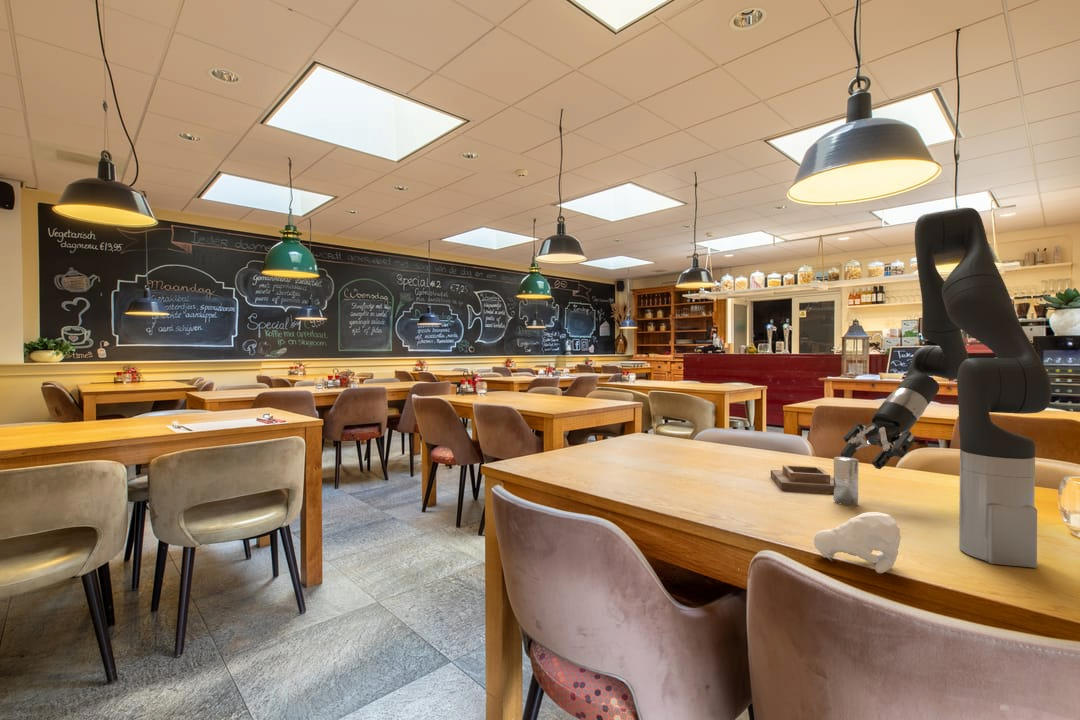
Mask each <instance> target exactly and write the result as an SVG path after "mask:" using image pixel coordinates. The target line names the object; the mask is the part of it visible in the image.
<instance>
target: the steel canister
mask: <svg viewBox="0 0 1080 720" xmlns="http://www.w3.org/2000/svg"><path fill="white" fill-rule="evenodd" d="M833 478H834V494H833V500H834V501H835V502H837V503H836V504H838V503H841V504H846V505H845V506H848V505H856V506H858V505H859V459H858V458H854V457H851V458H849V457H841V456H834V457H833ZM834 501H833V502H834ZM835 502H834V503H835ZM841 504H840V505H841ZM857 504H858V505H857Z"/></svg>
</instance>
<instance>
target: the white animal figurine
mask: <svg viewBox="0 0 1080 720" xmlns="http://www.w3.org/2000/svg"><path fill="white" fill-rule="evenodd" d="M900 532H901V530H900V528H899V526H898V523H897V522H896V520H895V519H894V518H893V517H892V516H891V515H889V514H888V513H882V512H880V511H879V512H878V511H877V512H876V511H868V512H863V513H861V514H860V513H859V515H857V516H853V517H851V518H849V519H848V520H847V521H846V522H843V523H841V524H840V525H839V526H837V527H834V528H832V529H823V530H819V531H817V532H815V534H814V537H813V544H814V547H815V549H816V550H817V551H818V552H819V553H820V554H821V556H822V557H823V559H825V558H826V559H828V560H830V561H833V560H834V559H833V558H834V557H835V554H837V553H844V554H848V555H850V556H855V557H859V559H862V560H864V561H866V562H868V563H870V564H875V572H876V573H877V574H884V573H885V572H887V571H888V570H890V569H891V568H892V567H893V566H894V565H895V562H897V561H896V560H897V557H898V556H899V547H900V543H901V539H902V536H901V533H900ZM873 551H876V552H878V553H876V554H873ZM879 552H880V553H879ZM832 559H833V560H832Z"/></svg>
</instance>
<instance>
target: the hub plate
mask: <svg viewBox="0 0 1080 720" xmlns="http://www.w3.org/2000/svg"><path fill="white" fill-rule="evenodd" d="M770 478H771V479H772V480H774V481H773V482H774V483H775V485H777V487H778V486H779V487H778V488H779V489H780V490H781V491H783V492H784V491H786V492H799V493H812V492H814V493H813V494H827V493H834V476H832V475H831V474H829V473H828V472H827V471H825V470H824V469H822V468H821V466H807V465H806V466H805V465H803V466H802V465H790V464H789V465H788V464H786V465H785V464H782V470H781V469H780V470H779V469H770Z"/></svg>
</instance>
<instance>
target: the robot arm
mask: <svg viewBox="0 0 1080 720" xmlns="http://www.w3.org/2000/svg"><path fill="white" fill-rule="evenodd" d="M984 225H985V224H984V223H983V219H982V217H981V215H980V213H979V211H978V210H977V209H975V208H973V207H960V208H958V207H957V208H953V209H947V210H941V211H935V212H929V213H924V214H922V215H920V216H919V217H918V218H917V220H916V223H915V227H914V248H915V257H916V266H917V273H918V280H919V281H918V283H919V287H920V295H921V296H920V297H921V303H922V305H921V308H922V310H921V311H922V313H921V315H922V318H921V335H922V337H923V338H924V339H925V340H926V341H928V342H930V343H933V344H935V345H937V346H935V345H925V346H921V347H919V348H918V349H916V350H915V352H914V353H913V356H912V357H911V362H910V365H909V367H908V369H907V372H906V374H905V377H904V379H902V381H901V382H900V384H899V385H898V386H897V387H896V389H894V391H892V392H891V393H889V395H888V396H887V397H886V399H885V400H884V401H883V403H882V404H880V406H879V407H878V409H876V411H875V412H874V413H873V415H872V420H871V423H869V424H868V425H863V424H862V423H861V421H858V422H857V423H856V424H855V425H853V427H852V428H851V429H850V430H849V431H848V432H847V433H846V435H844V437H843V441H844V442H845V443H846V446H844V448H843V449H842V450H841V452H840V457H849V458H853V456H854V455H855V453H856V452H857V451H858V450H859V449H860V448H861V449H862V448H863V447H866V448H867V447H869V446H871V445H872V446H879V447H881V448H882V450H880V451H879V452H878V454H877V455H876V456H875V458H874V459H873V460H872V462H871V464H872V466H873V467H874V468H875V469H877V470H881V469H882V468H884V467H885V466H886V465H887V463H888V462H889V461H890V459H894V458H895V457H898V458H904V457H905V455H906V454H907V453H908V451H909V449H911V447H912V446H913V444H914V442H915V441H916V440H917V439H916V437H915V436H914V434H913V433H912V432H911V430H912V428H913V427H914V425H915V424H916V423H917V422H918V421H919V420H920V418H921V417H922V415H923V414H924V412H925V411H926V409H927V407H928V406H929V404H931V402H932V401H933V399H934V398H935V397H936V396H937V394H938V392H939V391H940V384H939V382H938V381H937V380H936V379H935V378H933V377H938V378H942V379H947V380H952V381H953V380H956V393H957V404H958V405H957V407H958V432H959V494H958V495H959V499H958V500H959V508H958V509H959V511H958V512H959V513H958V514H959V515H958V520H959V522H958V526H959V528H958V529H959V530H958V531H959V532H958V535H959V536H958V538H959V539H958V540H959V541H958V544H959V545H958V548H959V550H960V551H962V552H963V553H965V554H967V555H968V556H970V557H971V556H972V557H974V558H976V559H979V560H982V561H985V562H987V563H989V564H991V565H992V564H993V565H1001V566H1002V565H1003V566H1011V567H1012V566H1013V567H1022V568H1023V567H1024V568H1032V569H1033V568H1035V569H1036V568H1038V565H1037V564H1038V563H1037V562H1038V561H1037V560H1038V509H1037V508H1036V507H1035V494H1036V493H1035V489H1036V488H1035V486H1036V485H1035V484H1036V483H1035V482H1036V481H1035V479H1036V478H1035V477H1036V475H1035V474H1036V444H1035V441H1034V440H1032V439H1031V438H1029V437H1027V436H1024V435H1021V434H1018V433H1015V432H1012V431H1008V430H1006V429H1003V428H1002V427H999V426H998V425H996V424H994V422H992V420H991V415H990V413H995V414H997V413H998V414H1015V415H1016V414H1018V415H1019V414H1021V415H1022V414H1023V415H1024V414H1037V413H1041V412H1044V411H1045V410H1046V409H1047V408H1048V407H1049V406H1050V404H1051V400H1052V397H1053V396H1052V395H1053V389H1052V383H1051V379H1050V376H1049V373H1048V371H1047V368H1046V366H1045V363H1043V361H1042V359H1041V358H1040V355H1039V354H1038V352H1037V351H1036V349H1035V347H1034V345H1033V344H1032V342H1031V340H1030V339H1029V337H1028V335H1027V334H1026V332H1025V330H1024V329H1023V327H1022V324H1021V322H1020V320H1019V317H1018V315H1017V312H1016V310H1015V308H1014V305H1013V302H1012V298H1011V295H1010V293H1009V291H1008V288H1007V286H1006V284H1005V281H1004V279H1003V277H1002V276H1001V273H1000V271H999V270H998V266H997V265H996V262H995V260H994V257H993V255H992V251H991V249H990V245H989V240H988V237H987V233H986V230H985V226H984ZM959 252H960V253H961V252H962V253H964V255H963V257H962V259H961V260H960V261H959V262H958V263H957V265H956V266H955V267H954V268H953V269H952V271H951V272H950V273H949V275H948V276H947V278H946V279H945V280H944V278H943V277H942V275H941V274H940V273H939V271H938V269H937V266H936V263H935V256H936V255H938V256H939V255H943V254H952V253H959ZM961 331H962V332H964V333H965V334H967V335H969V336H970V337H971V338H973V339H974V340H976V341H978V342H979V343H981V344H982V345H984V347H986V348H988V349H989V350H990V351H991V352H992V353H993V354H995V356H996V357H972V358H971V357H969V353H968V351H967V348H966V345H965V342H964V338H963V336H962V332H961ZM864 437H865V439H866V440H865V439H864ZM859 441H860V442H859ZM857 442H858V443H857Z"/></svg>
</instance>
